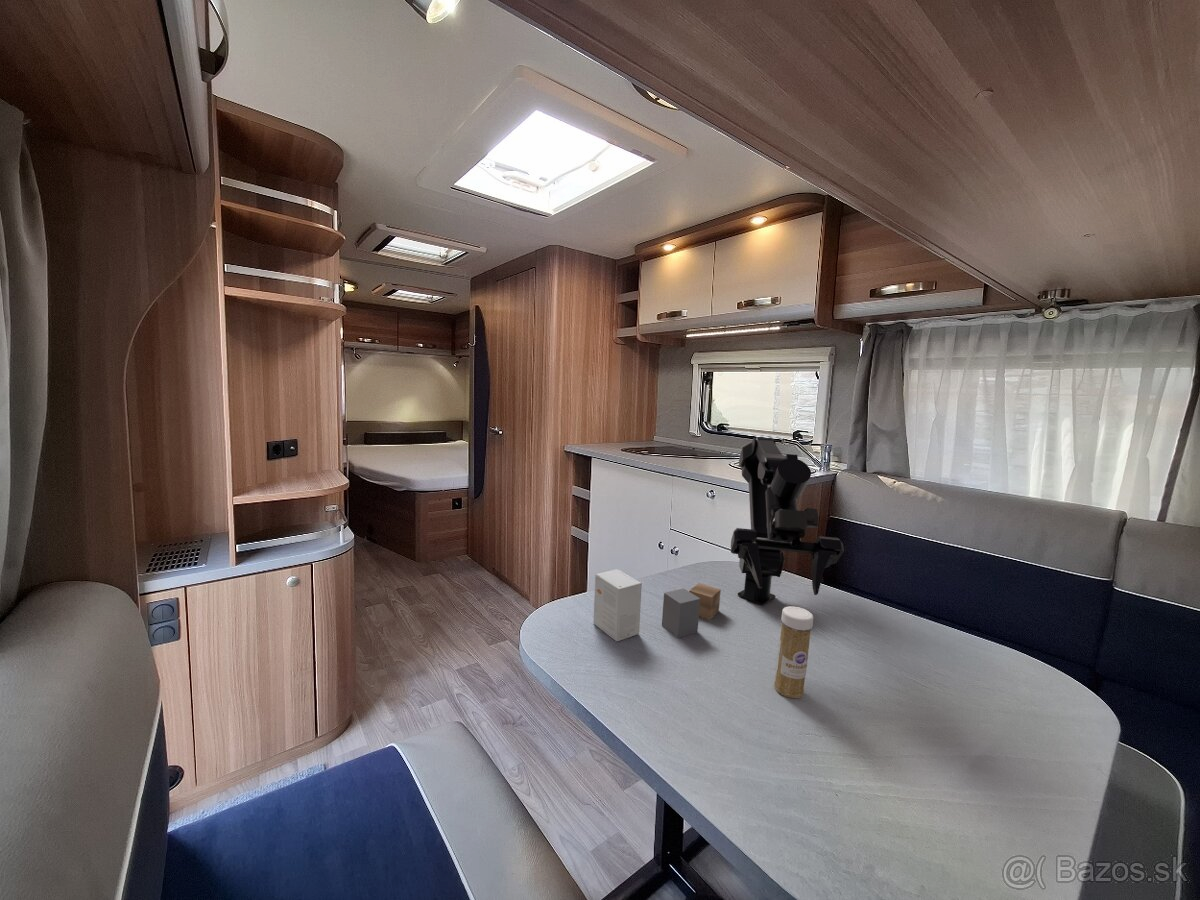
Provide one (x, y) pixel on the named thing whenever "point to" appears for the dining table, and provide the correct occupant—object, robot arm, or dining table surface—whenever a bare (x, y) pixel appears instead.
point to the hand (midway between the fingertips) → (788, 590)
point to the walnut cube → (707, 599)
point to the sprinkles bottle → (793, 651)
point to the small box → (617, 604)
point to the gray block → (680, 612)
